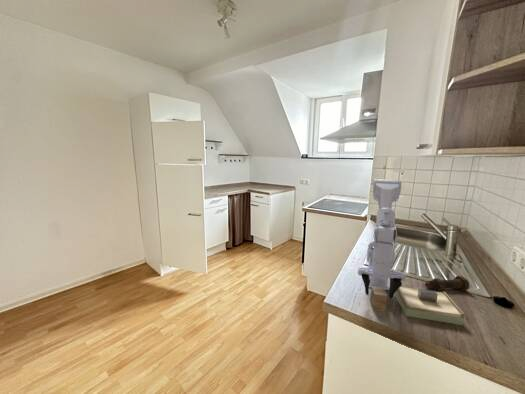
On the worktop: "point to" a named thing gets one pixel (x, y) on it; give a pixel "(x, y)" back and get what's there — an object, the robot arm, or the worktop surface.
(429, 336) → the worktop surface
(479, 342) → the worktop surface
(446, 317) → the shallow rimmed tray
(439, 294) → the lid
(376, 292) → the block
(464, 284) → the bolt
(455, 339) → the worktop surface
